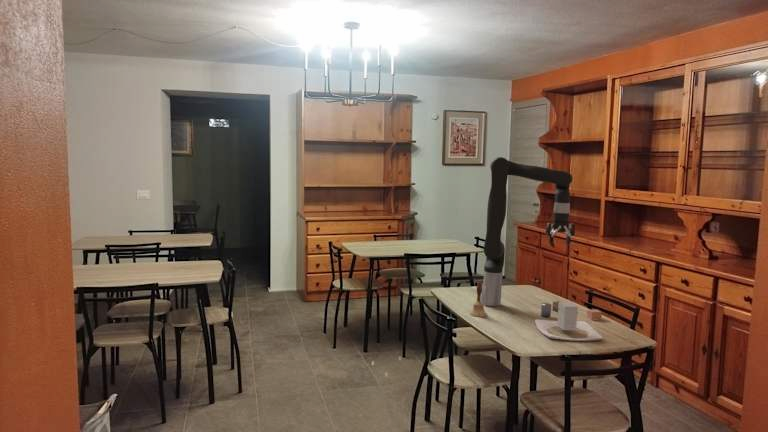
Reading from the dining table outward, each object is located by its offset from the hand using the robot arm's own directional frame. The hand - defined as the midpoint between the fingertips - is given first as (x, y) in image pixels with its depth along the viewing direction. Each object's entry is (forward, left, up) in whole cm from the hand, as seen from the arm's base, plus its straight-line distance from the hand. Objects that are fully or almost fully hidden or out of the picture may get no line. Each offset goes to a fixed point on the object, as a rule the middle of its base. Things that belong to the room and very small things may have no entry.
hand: (559, 244), depth 257 cm
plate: (-12, -35, -34) cm, 50 cm away
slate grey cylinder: (-11, -12, -33) cm, 37 cm away
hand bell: (-43, -7, -33) cm, 55 cm away
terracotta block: (+11, -17, -33) cm, 39 cm away
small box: (-13, -34, -31) cm, 48 cm away
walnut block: (0, -4, -33) cm, 33 cm away
